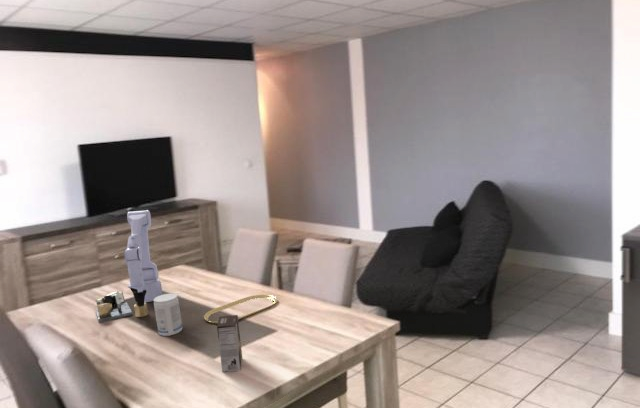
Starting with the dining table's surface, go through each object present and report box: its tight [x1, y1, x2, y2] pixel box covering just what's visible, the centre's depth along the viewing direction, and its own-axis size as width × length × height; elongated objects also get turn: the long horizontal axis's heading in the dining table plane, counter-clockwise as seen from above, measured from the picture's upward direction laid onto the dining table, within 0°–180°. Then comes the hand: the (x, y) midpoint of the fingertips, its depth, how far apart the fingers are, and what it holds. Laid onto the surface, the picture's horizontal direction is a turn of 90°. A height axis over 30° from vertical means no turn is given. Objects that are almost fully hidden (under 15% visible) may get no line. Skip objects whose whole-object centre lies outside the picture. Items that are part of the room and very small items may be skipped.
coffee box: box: [216, 314, 243, 373], centre depth 171 cm, size 9×6×16 cm
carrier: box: [94, 301, 133, 323], centre depth 233 cm, size 14×16×7 cm
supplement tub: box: [153, 293, 183, 337], centre depth 205 cm, size 10×10×15 cm
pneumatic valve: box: [95, 291, 125, 307], centre depth 244 cm, size 6×12×12 cm
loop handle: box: [203, 294, 278, 325], centre depth 225 cm, size 19×35×2 cm, turn 135°
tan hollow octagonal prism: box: [133, 302, 149, 318], centre depth 228 cm, size 5×5×5 cm
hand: (139, 303), depth 228 cm, fingers open, 7 cm apart
